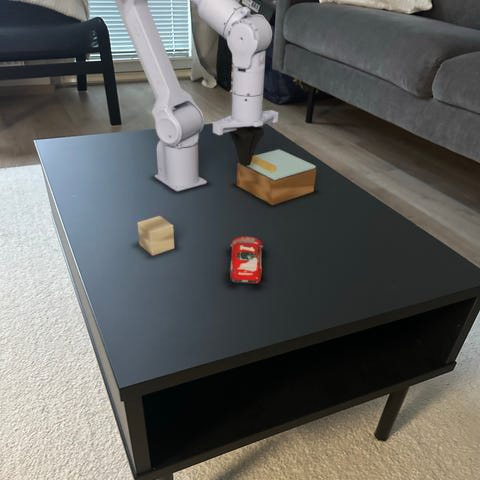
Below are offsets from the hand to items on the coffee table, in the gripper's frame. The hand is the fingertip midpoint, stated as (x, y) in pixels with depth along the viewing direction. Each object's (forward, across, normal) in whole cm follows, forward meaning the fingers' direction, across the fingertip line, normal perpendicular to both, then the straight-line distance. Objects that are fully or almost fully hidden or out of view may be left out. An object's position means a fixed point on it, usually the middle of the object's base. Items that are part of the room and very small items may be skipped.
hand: (244, 164), depth 101 cm
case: (+7, +9, 0) cm, 12 cm away
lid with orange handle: (+2, +9, 0) cm, 9 cm away
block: (+7, -25, -7) cm, 27 cm away
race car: (+8, -16, -21) cm, 27 cm away
